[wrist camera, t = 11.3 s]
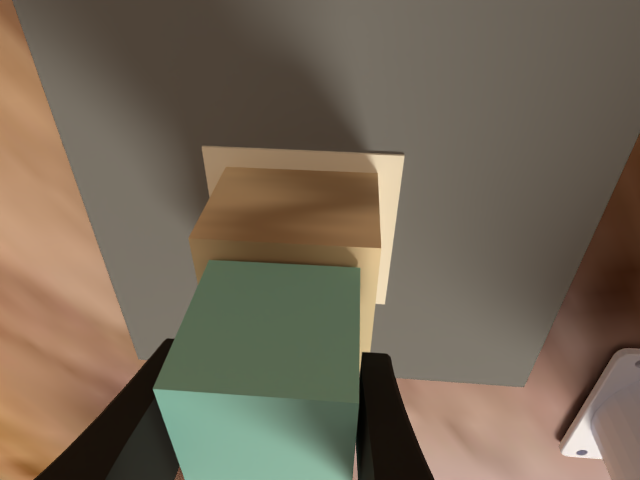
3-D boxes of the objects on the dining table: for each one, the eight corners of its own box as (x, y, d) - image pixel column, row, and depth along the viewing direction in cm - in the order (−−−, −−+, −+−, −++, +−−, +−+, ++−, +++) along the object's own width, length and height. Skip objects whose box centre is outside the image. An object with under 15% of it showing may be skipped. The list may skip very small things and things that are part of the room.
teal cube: (360, 267, 12) (359, 403, 9) (353, 366, 14) (350, 501, 11) (208, 260, 12) (152, 389, 9) (227, 358, 14) (187, 488, 11)
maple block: (377, 172, 15) (381, 248, 12) (367, 287, 18) (367, 372, 15) (225, 166, 15) (188, 238, 12) (240, 280, 18) (214, 361, 15)
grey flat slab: (742, -113, 10) (754, -113, 10) (522, 381, 21) (524, 389, 21) (-22, -122, 11) (-34, -122, 11) (141, 354, 22) (137, 361, 22)
